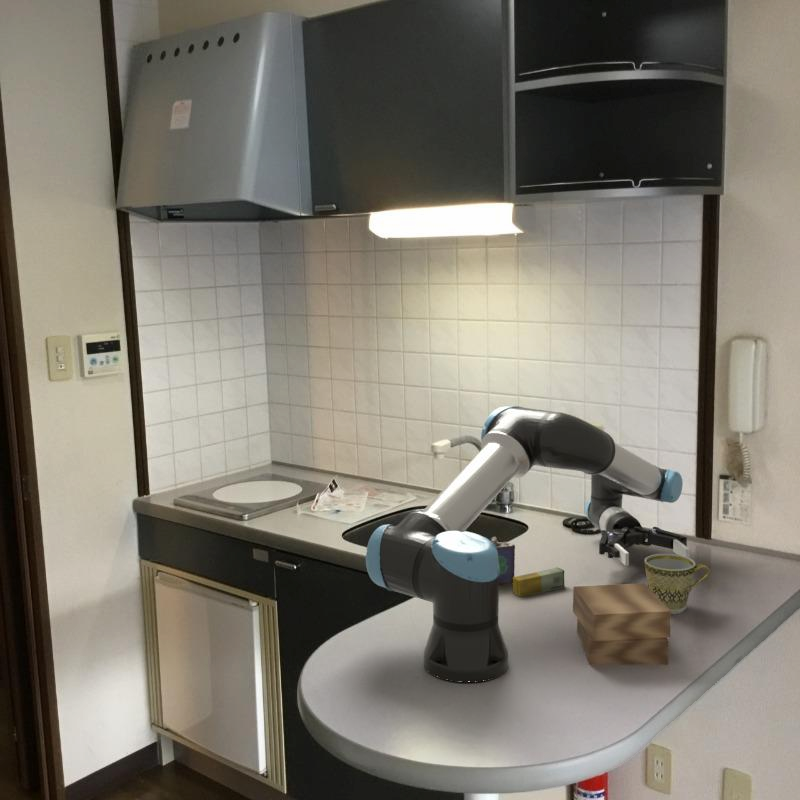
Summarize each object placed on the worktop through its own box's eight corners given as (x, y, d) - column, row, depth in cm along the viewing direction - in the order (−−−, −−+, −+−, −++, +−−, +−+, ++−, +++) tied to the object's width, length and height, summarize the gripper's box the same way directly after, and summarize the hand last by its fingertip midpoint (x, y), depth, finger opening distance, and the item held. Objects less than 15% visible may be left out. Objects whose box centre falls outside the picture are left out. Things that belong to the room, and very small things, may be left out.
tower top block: (593, 641, 174) (594, 614, 173) (572, 611, 187) (573, 586, 186) (670, 637, 175) (671, 610, 174) (643, 607, 189) (644, 583, 188)
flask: (477, 589, 212) (477, 542, 210) (472, 585, 215) (472, 538, 213) (516, 584, 215) (516, 537, 213) (510, 579, 217) (511, 533, 216)
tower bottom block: (589, 667, 175) (589, 640, 174) (577, 635, 189) (577, 610, 188) (667, 666, 174) (668, 640, 174) (649, 634, 188) (650, 610, 187)
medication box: (558, 584, 215) (558, 566, 214) (565, 588, 212) (565, 570, 212) (512, 594, 209) (511, 576, 209) (519, 598, 207) (518, 580, 206)
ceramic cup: (649, 617, 195) (650, 570, 193) (638, 599, 205) (639, 553, 203) (714, 617, 195) (716, 569, 193) (700, 598, 205) (702, 553, 203)
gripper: (670, 539, 231) (711, 569, 211) (569, 546, 228) (601, 578, 207) (671, 508, 230) (713, 536, 209) (569, 515, 226) (601, 544, 206)
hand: (657, 557), depth 208 cm, fingers open, 13 cm apart
